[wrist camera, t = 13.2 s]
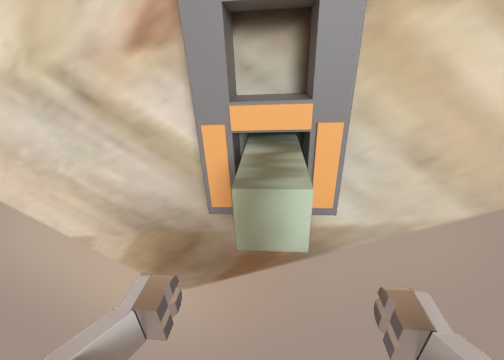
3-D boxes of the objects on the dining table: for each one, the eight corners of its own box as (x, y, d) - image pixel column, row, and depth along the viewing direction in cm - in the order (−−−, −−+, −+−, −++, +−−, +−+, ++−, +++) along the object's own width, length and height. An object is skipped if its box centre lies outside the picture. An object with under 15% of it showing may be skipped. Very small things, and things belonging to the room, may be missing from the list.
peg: (295, 130, 23) (313, 189, 13) (293, 171, 25) (308, 252, 15) (250, 131, 24) (231, 189, 13) (251, 171, 26) (236, 250, 15)
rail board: (377, -222, 14) (417, -330, 10) (327, 194, 26) (336, 217, 23) (170, -192, 15) (134, -278, 11) (217, 193, 27) (208, 215, 24)
